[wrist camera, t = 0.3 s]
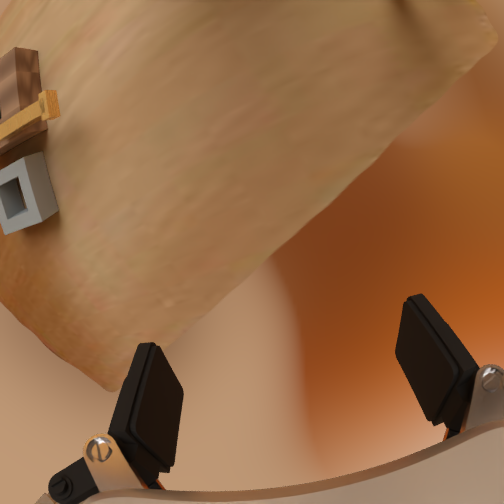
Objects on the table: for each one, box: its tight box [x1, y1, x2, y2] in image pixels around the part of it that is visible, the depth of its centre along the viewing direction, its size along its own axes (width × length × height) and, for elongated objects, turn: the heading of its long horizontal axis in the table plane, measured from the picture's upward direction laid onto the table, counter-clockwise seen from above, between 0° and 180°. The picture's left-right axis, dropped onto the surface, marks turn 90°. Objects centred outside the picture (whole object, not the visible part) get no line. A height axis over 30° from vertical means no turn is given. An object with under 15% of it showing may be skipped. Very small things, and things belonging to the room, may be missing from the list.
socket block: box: [0, 47, 48, 156], centre depth 27 cm, size 14×14×6 cm
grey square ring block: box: [0, 151, 59, 235], centre depth 34 cm, size 10×10×5 cm
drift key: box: [0, 90, 60, 141], centre depth 25 cm, size 4×10×2 cm, turn 99°
